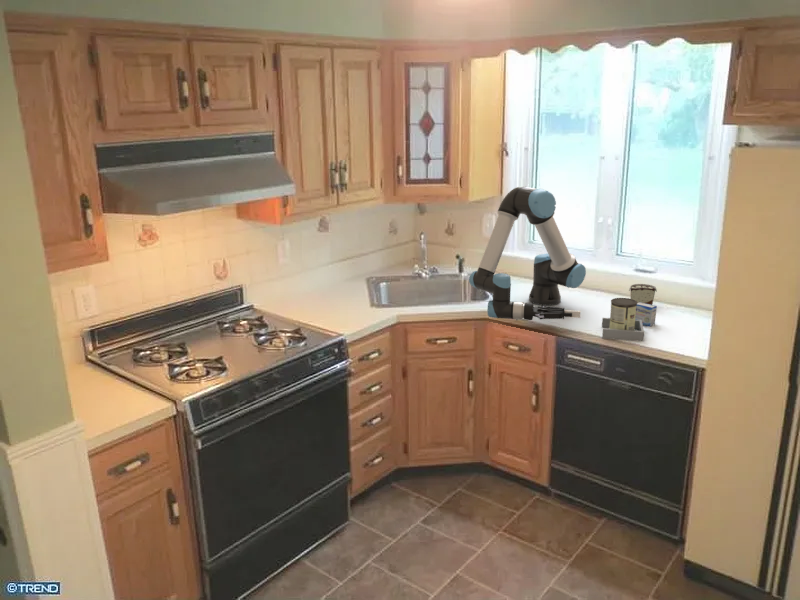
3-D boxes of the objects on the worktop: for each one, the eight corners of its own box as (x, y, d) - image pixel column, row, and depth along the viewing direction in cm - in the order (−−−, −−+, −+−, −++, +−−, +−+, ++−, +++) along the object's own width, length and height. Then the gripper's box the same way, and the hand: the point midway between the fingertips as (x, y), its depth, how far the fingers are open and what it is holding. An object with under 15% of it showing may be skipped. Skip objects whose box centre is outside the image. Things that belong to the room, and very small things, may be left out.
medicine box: (633, 322, 299) (634, 303, 296) (638, 320, 302) (639, 301, 299) (650, 326, 293) (652, 307, 291) (655, 324, 296) (657, 305, 294)
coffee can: (612, 327, 293) (615, 296, 289) (637, 331, 288) (640, 299, 284) (605, 334, 285) (607, 302, 281) (630, 339, 280) (633, 306, 275)
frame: (602, 338, 281) (602, 329, 280) (601, 326, 295) (602, 317, 294) (643, 341, 277) (644, 332, 276) (640, 329, 291) (641, 320, 290)
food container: (651, 304, 324) (653, 283, 321) (655, 307, 318) (657, 287, 315) (625, 303, 325) (626, 283, 322) (627, 307, 319) (629, 287, 316)
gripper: (524, 314, 301) (580, 317, 295) (522, 324, 289) (579, 327, 283) (525, 298, 299) (581, 301, 293) (522, 307, 287) (580, 310, 281)
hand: (580, 314), depth 288 cm, fingers closed
